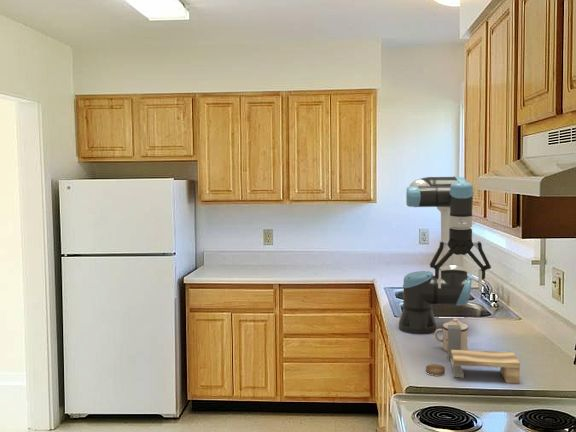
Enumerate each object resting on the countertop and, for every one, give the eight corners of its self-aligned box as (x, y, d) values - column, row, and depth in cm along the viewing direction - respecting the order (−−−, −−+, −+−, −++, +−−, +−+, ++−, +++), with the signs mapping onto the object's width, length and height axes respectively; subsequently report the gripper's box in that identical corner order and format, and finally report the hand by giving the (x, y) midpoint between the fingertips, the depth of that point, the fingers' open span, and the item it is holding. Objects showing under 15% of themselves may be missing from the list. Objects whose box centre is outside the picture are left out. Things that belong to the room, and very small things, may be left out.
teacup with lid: (468, 346, 218) (469, 316, 217) (467, 355, 210) (467, 323, 208) (435, 343, 222) (436, 313, 221) (432, 351, 214) (433, 320, 212)
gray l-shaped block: (447, 357, 208) (448, 324, 206) (459, 358, 207) (459, 325, 205) (452, 377, 190) (453, 341, 189) (465, 378, 189) (466, 342, 188)
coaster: (425, 369, 198) (425, 363, 198) (443, 370, 197) (443, 364, 197) (427, 376, 192) (427, 370, 192) (445, 377, 191) (445, 371, 191)
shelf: (450, 368, 198) (451, 349, 197) (512, 371, 194) (513, 352, 194) (453, 380, 188) (454, 360, 187) (519, 383, 185) (519, 363, 184)
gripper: (423, 229, 199) (423, 289, 202) (500, 229, 195) (498, 291, 198) (423, 225, 207) (422, 284, 210) (497, 226, 202) (495, 286, 205)
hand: (459, 288), depth 204 cm, fingers open, 13 cm apart
